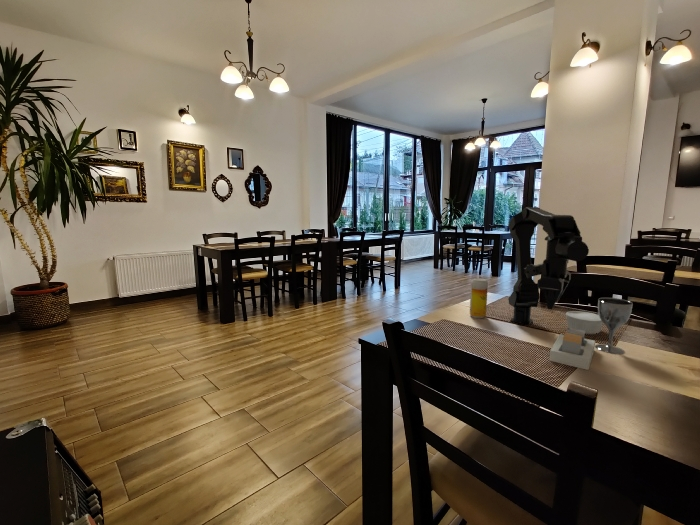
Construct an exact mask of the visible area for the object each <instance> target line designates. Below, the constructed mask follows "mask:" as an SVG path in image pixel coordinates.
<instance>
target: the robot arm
mask: <svg viewBox="0 0 700 525" xmlns="http://www.w3.org/2000/svg"><path fill="white" fill-rule="evenodd" d="M538 225H539V226H542V230H543V231H544V232H545V233H546V235H547V236H546V237H544V241H546V251H545V252H546V254H545V259H544V260H543V261H542V263H538V264H534V263H532V255H531V254H532V252H531V250H532V249H531V239H532V238H533V235H534V234H535V229H536V228H537V227H538ZM508 230H509V233H510V234H509V235H510V237H511V238H512V239H513V241H514V242H515V255H516V256H515V258H516V273H517V280H516V282H515V284H514V285H513V287H512V288H513V289H512V292H511V294H510V295H509V296H508V300H507V301H508V305H509V306H511V307H513V315H512V317H511V319H510V322H511V323H516V324H517V323H518V324H521V325H522V324H523V325H527V326H530V324H532V322H533V321H534V319H532V318H531V316H532V315H531V312H532V308H537V307H538V305H539V302H540V298H541V294H540V291H542V292H543V294H544V297H545V301H546V307H547V309H548V310H553V308H554V306H555V304H556V303H558V302H559V301H560V298H561V297H562V295H563V294H564V292H565V290H566V288H567V287H568V285H569V283H570V281H571V276H572V274H571V272H570V271H568V264H569V261H572V262H581V261H583V260H585V259H586V258H588V255H589V252H590V250H589V245H588V244H587V243H586V242H584V241H583V237H582V236H581V231H580V229H579V226H578V225H577V222H576V220H575V218H574V216H573V215H571V214H554V213H552V212H549V211H547V210H544V209H542V208H541V207H539V206H532V207H531V206H526V207H524V208H522V210H521V211H520V212H518V213H516V214H514V215H513V216H512V218H511V219H510V221H509V222H508ZM540 275H541V277H540V278H539V279H538V280H537V283H536V281H535V280H534V279H533V277H537V276H540ZM539 290H540V291H539Z"/></svg>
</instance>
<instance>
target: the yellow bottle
mask: <svg viewBox="0 0 700 525" xmlns="http://www.w3.org/2000/svg"><path fill="white" fill-rule="evenodd" d="M488 285H489V283H488V279H487V278H482V277H477V278H476V277H474V278H472V279H471V282H470V296H469V297H470V298H469V300H470V301H469V315H470V316H471V318H474V319H484V318H485V317H486V316H487V304H488V303H487V302H488V301H487V300H488V287H489V286H488Z"/></svg>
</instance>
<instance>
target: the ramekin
mask: <svg viewBox="0 0 700 525" xmlns="http://www.w3.org/2000/svg"><path fill="white" fill-rule="evenodd" d="M565 317H566V326H567V328H568V329H569V328H572V329H577V330H583V331H585V335H597V334H599V333H601V331H602V328H603V324H604V323H603V321H602V320H601V319H600V317H599V314H598V313H597V314H596V313H593V312H587V311H579V310H578V311H576V310H575V311H574V310H570V311H567V312H565ZM596 333H597V334H596Z"/></svg>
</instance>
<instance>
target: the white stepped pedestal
mask: <svg viewBox="0 0 700 525" xmlns="http://www.w3.org/2000/svg"><path fill="white" fill-rule="evenodd" d="M566 333H570V334H575V335H580V336H582V343H581V353H580V355H576V354H571V353H567V352H562V344H563V336H564V334H563V333H559V335H558V336H557V338H556V340H555V342H554V344H553V345H552V346H551V348H550V351H549V361H550V362H553V363H557V364H562V365H566V366H571V367H575V368H578V369H582V370H587V371H588V370H589V369H590V365H591V363H592V359H593V355H594V353H595V352H594V351H595V348H596V347H595V346H596V340H592V339H588V338H586V337H585V336H586V334H585V331H583V330H577V329H572V328H568V329H567V331H566Z"/></svg>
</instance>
